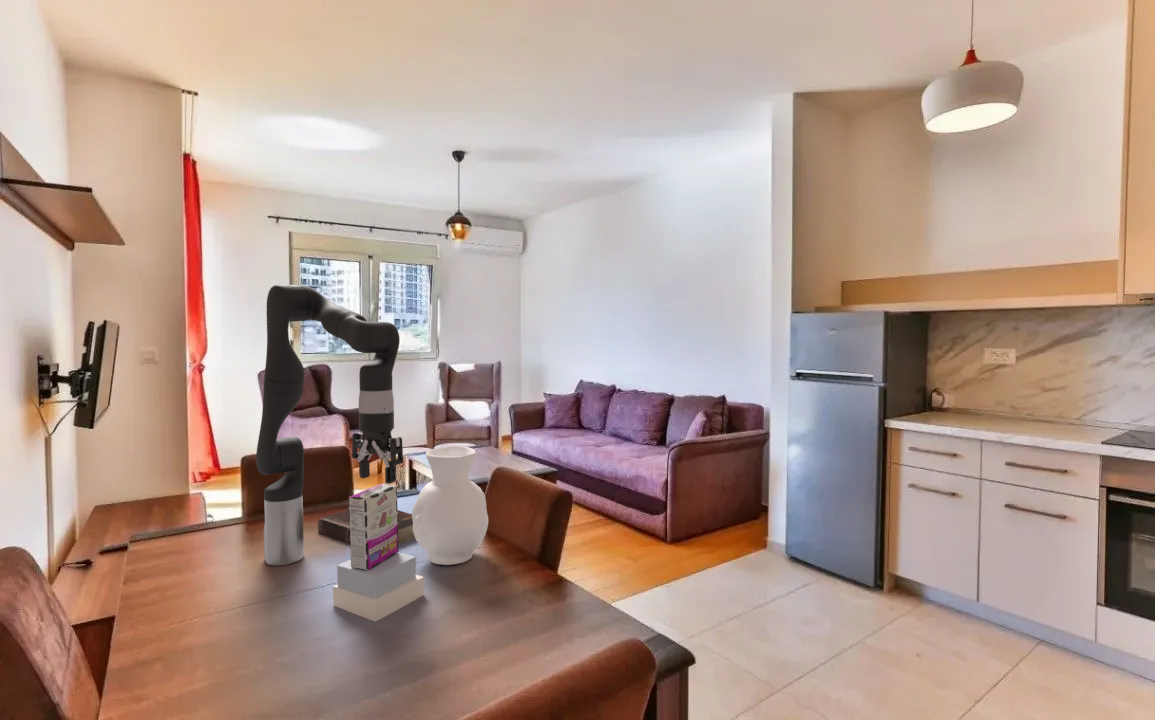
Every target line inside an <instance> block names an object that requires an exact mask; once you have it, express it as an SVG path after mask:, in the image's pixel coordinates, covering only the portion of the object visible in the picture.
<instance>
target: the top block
mask: <svg viewBox="0 0 1155 720" xmlns="http://www.w3.org/2000/svg"><path fill="white" fill-rule="evenodd" d="M416 560H417V557H416V556H415V555H410V554H407V553H403V552H398V553H396V554H394V555H393V556H391V557H390V558H388V559H386V560H385V561H383V562H382V563H380V564H378V565H377V566H375V567H373V568H372V569H370V570H368V571H367V570H360V569H354V568H351V559H349V560H348V559H347V560H346V561H344V562H342V563H340V564H337V566H336V568H337V569H336V570H337V571H336V572H337V584H338V587H339V588H342V589H345V590H348V591H352V592H355V593H358V594H361V595H364V596H367V597H371V598H374V599H377V598H379V597H381V596H382V595H384V594H386V593H388V592H390V591H392V590H394V589H396V588H397V587H399V586H401V585H403V584H405V583H407V582H409V581H410V580H412V579H414V578H416V575H417V571H416V570H417V561H416Z"/></svg>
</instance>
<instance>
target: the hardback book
mask: <svg viewBox="0 0 1155 720" xmlns="http://www.w3.org/2000/svg"><path fill="white" fill-rule="evenodd" d="M397 510H398V546H399V545H402V544H403V543H406V541H407V542H409V541H413V540H414V538H415V536H414V533H413V519H412V513H408V512H405V511H402V510H399V509H397ZM317 531H318V532H319V533H320V534H322V535H326V536H329V537H332V538H335V539H337V540H340V541H343V542H346V543H348V544H350V516H349V508H348V509H346V510H343V511H340V512H336V513H333V514H330V515H326V516H323V517H321V518H318V521H317Z"/></svg>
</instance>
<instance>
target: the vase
mask: <svg viewBox="0 0 1155 720" xmlns="http://www.w3.org/2000/svg"><path fill="white" fill-rule="evenodd" d="M425 456H426V460H427V463H428V464H429V466H430V469H431V475H432V479H431V481H429V482H428V483H427V484H425V485H424V486H423V488H422V489H421V491H420V492H419V494H418V495H417V497H416V500H415V503H414V505H413V507H412V512H411V514H412V519H413V533H414V536H415V541H416V542H417V543H418V544H419V546H420V547H421V549H424V550H425V551H427V552H428V554H429V556H428V560H429V561H430V562H431V563H432V564H435V565H444V566H451V565H459V564H463V563H465V562H467V561H469V560H471V559H472V557H473V553H474V552H475V551H476V550H477V549H478V548H479V546H480V545H481V543H482V541H483V540H484V538H485V536H486V534H487V530H488V526H489V515H488V509H487V501H486V495H485V493H484V491H483V490H482V488H481V487H480V486H479V485H478V484H476V482H474V481H472V480H471V479H469V477H470V472H471V467H472V465H473V462H474V460H475V459H476V456H477V451H476V450H475V449H474V448H471V447H469V446H463V445H451V446H449V445H448V446H445V447H437V448H435V447H434V448H431V449H429V450H427V451H426V453H425Z"/></svg>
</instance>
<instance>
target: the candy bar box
mask: <svg viewBox="0 0 1155 720" xmlns="http://www.w3.org/2000/svg"><path fill="white" fill-rule="evenodd" d="M348 505H349V506H348V509H349V516H350V543H349V544H350V560H351V568H354V569H360V570H367V571H368V570H370V569H372V568H373V567H375V566H377V565H378V564H380V563H382V562H383V561H385V560H386V559H388V558H390V557H391V556H393V555H394V554H396V553H398V552H399V545H398V510H399V509H398V485H395V484H391V483H390V484H387V483H380V484H377V485H375V486H371V487H370V488H367V489H365V490H362V491H360V492H358V493H356V494H353V495H350V496H349V497H348ZM399 553H400V552H399Z"/></svg>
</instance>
